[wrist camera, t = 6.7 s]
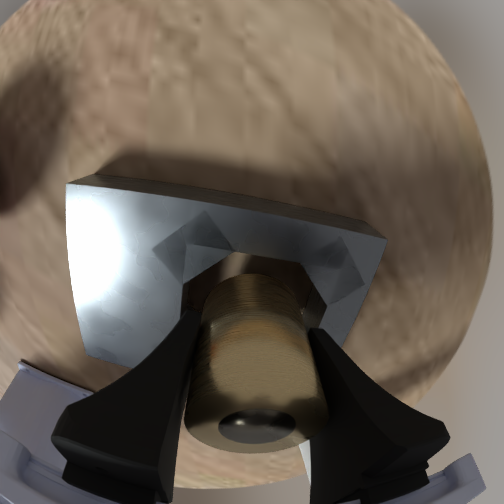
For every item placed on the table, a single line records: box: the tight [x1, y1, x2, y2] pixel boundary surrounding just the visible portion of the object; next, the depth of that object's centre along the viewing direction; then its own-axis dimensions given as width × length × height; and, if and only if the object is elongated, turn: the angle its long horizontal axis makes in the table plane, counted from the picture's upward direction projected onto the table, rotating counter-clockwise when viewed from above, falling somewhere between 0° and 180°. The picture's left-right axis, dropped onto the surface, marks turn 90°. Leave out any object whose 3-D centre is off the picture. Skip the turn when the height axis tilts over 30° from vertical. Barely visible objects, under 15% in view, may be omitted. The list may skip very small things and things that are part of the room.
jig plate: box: [66, 174, 388, 368], centre depth 13 cm, size 14×10×2 cm
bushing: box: [184, 274, 329, 453], centre depth 10 cm, size 4×4×6 cm
